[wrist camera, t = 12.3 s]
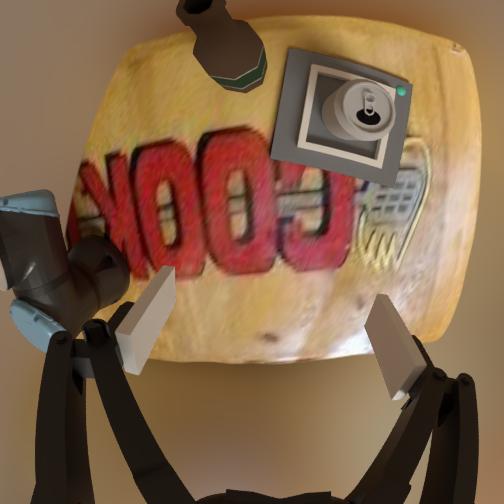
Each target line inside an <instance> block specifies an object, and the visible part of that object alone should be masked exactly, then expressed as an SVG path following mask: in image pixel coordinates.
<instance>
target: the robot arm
mask: <svg viewBox="0 0 504 504" xmlns="http://www.w3.org/2000/svg"><path fill="white" fill-rule="evenodd" d="M59 217H60V215H59V214H58V211H57V207H56V203H55V198H54V195H53V194H52V192H51V191H49V190H37V191H30V192H25V193H20V194H14V195H10V196H5V197H1V198H0V290H2V291H4V292H5V291H7V290H9V289H10V288H12V289H13V292H14V294H15V297H16V299H14V300H13V301H12V303H11V305H10V314H11V317H12V319H13V321H14V323H15V324H16V326H17V327H18V328H19V330H20V331H21V333H22V334H23V335H24V336H25V337H26V338H27V339H28V340H29V341H30V342H31V343H32V344H33V345H34V346H36V347H37V348H39V349H40V350H42V351H44V352H46V358H45V363H44V368H43V374H42V380H41V386H40V394H39V401H38V410H37V421H36V438H35V473H36V485H35V488H34V492H33V495H32V499H31V503H30V504H95V500H94V493H93V487H92V480H91V474H90V466H89V456H88V445H87V430H86V378H95V380H96V384H97V387H98V390H99V394H100V397H101V400H102V403H103V406H104V409H105V411H106V414H107V417H108V419H109V422H110V425H111V427H112V430H113V432H114V435H115V437H116V440H117V442H118V444H119V447H120V449H121V451H122V453H123V455H124V458H125V460H126V462H127V464H128V466H129V468H130V470H131V472H132V474H133V478H134V481H135V483H136V485H137V487H138V489H139V490H140V492H141V494H142V496H143V497H144V499H145V501H146V502H147V504H403V503H404V501H405V500H406V498H407V496H408V494H409V492H410V490H411V485H410V484H409V482H410V480H411V478H412V476H413V474H414V471H415V469H416V467H417V465H418V463H419V461H420V459H421V456H422V454H423V452H424V450H425V447H426V445H427V442H428V440H429V437H430V435H431V432H432V440H431V448H430V454H429V461H428V467H427V472H426V477H425V482H424V486H423V491H422V495H421V499H420V502H419V504H475V503H474V501H475V493H476V485H477V473H478V454H479V434H478V433H479V432H478V412H477V400H476V391H475V383H474V380H473V379H472V377H471V376H470V375H468V374H466V373H461V374H459V376H458V377H457V378H456V379H453V378H448V377H447V375H446V373H445V372H444V371H443V370H442V369H440V368H436V367H434V365H433V363H432V361H431V360H430V358H429V356H428V354H427V353H426V351H425V349H424V348H423V345H422V343H421V342H420V340H419V339H418V338H417V337H416V336H415V335H411V334H410V332H409V331H408V329H407V327H406V325H405V324H404V322H403V320H402V319H401V317H400V315H399V313H398V312H397V310H396V308H395V307H394V305H393V303H392V302H391V300H390V299H389V297H388V295H385V294H377V296H376V299H375V301H374V304H373V307H372V309H371V312H370V314H369V316H368V319H367V321H366V324H365V326H364V327H365V330H366V332H367V334H368V337H369V340H370V342H371V345H372V347H373V350H374V352H375V355H376V358H377V360H378V363H379V366H380V369H381V371H382V374H383V377H384V379H385V382H386V385H387V388H388V391H389V394H390V397H391V400H399V399H403V398H404V397H405V395H406V394H407V393H409V396H410V398H409V399H408V400H407V402H406V403H405V404H404V405H403V407H402V408H401V409H403V410H402V412H401V414H400V416H399V418H398V420H397V422H396V424H395V426H394V428H393V429H392V431H391V433H390V435H389V437H388V438H387V440H386V442H385V443H384V445H383V447H382V449H381V450H380V452H379V453H378V455H377V457H376V458H375V460H374V461H373V463H372V465H371V466H370V467H369V469H368V470H367V472H366V473H365V475H364V476H363V478H362V479H361V480H360V482H359V483H358V485H357V486H356V487H355V489H354V490H353V491H352V492H351V493H350V494H349V495H348V496H347V497H346V498H345V499H344V500H343V499H340V498H337V497H333V496H331V491H329V492H316V493H304V494H300V495H296V496H292V497H288V498H283V499H279V498H274V497H270V496H266V495H263V494H259V493H255V492H249V491H238V490H230V489H227V490H226V493H220V494H214V495H210V496H207V497H204V498H201V499H199V500H198V501H195V500H194V498H193V497H192V496H191V494H190V493H189V492H188V490H187V489H186V487H185V486H184V484H183V483H182V481H181V480H180V478H179V477H178V475H177V474H176V472H175V471H174V469H173V468H172V466H171V465H170V464H169V462H168V461H167V459H166V458H165V456H164V454H163V453H162V451H161V449H160V448H159V446H158V444H157V442H156V440H155V438H154V437H153V435H152V433H151V431H150V429H149V427H148V425H147V423H146V421H145V419H144V417H143V415H142V413H141V411H140V409H139V407H138V405H137V402H136V400H135V398H134V396H133V394H132V391H131V389H130V387H129V384H128V382H127V379H126V377H125V375H124V372H123V370H122V366H123V364H124V368H125V371H126V372H129V373H132V374H136V375H139V374H140V372H141V370H142V368H143V366H144V364H145V362H146V360H147V358H148V356H149V354H150V352H151V350H152V348H153V346H154V344H155V342H156V340H157V338H158V336H159V334H160V332H161V330H162V328H163V326H164V324H165V323H166V321H167V319H168V317H169V315H170V313H171V311H172V309H173V307H174V305H175V303H176V299H175V267H171V266H165V265H163V267H162V268H161V269H160V270H159V272H158V273H157V274H156V276H155V277H154V278H153V280H152V281H151V282H150V284H149V285H148V286H147V288H146V289H145V290H144V292H143V293H142V294H141V296H140V297H139V299H138V300H137V301H136V303H133V302H129V301H127V302H125V303H124V304H122V305H120V307H119V308H118V309H117V310H116V312H115V313H114V314H113V316H112V317H111V318H110V320H109V321H108V322H107V323H106V321H104V320H102V319H98V318H97V319H92V318H93V317H94V315H95V314H96V313H97V312H98V311H99V310H101V309H103V308H105V307H107V306H109V305H111V304H114V303H116V302H118V301H119V300H120V299H121V298H122V297H123V296H124V294H125V293H126V292H127V290H128V287H129V283H130V276H129V270H128V267H127V264H126V262H125V260H124V258H123V256H122V254H121V253H120V252H119V250H118V249H117V248H116V247H115V246H114V245H113V244H112V243H111V242H109V241H108V240H106V239H104V238H102V237H100V236H95V235H90V236H86V237H84V238H82V239H81V240H79V241H78V242H76V243H75V244H74V245H73V247H72V248H71V250H70V253H69V254H67V250H66V246H65V242H64V238H63V234H62V229H61V224H60V219H59ZM81 331H82V333H83V336H84V339H75V338H76V337H77V336H78V335H79V333H80V332H81ZM432 429H433V431H432Z"/></svg>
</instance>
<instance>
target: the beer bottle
mask: <svg viewBox="0 0 504 504" xmlns="http://www.w3.org/2000/svg"><path fill="white" fill-rule="evenodd" d="M225 5H226V1H225V0H180V1H179V3H178V6H177V8H176V14H177V16H178V17H179V18H180V20H181V21H182V22H183V23H184V24H185V25H186V26H190V27H191V28H192V30H193V31H194V32H195V34H196V35H197V39H196V42H195V45H194V49H193V55H194V56H195V57H196V59H197V60H198V61H199V63H200V64H201V65H202V67H203V68H204V70H205V71H206V72H207V74H208V75H209V76H210V77H211V78H212V79H214V80H215V81H216V82H217V83H219V84H220V85H221V86H222V87H223V88H225V89H226V90H231V91H236V92H242V93H247V92H249V91H251V90H252V89H254V88H256V87H258V86H260V85H261V84H263V81H264V77H265V73H266V70H267V60H266V55H265V49H264V45H263V42H262V40H261V39H260V38H259V36H258V35H257V34H256V33H255V31H254V30H253V29H252V28H251V26H250V25H249V24H248V23H247V22H245V21H242V20H234V19H232V18H231V16H230V15H229V13H228V12H227V10H226V9H225Z"/></svg>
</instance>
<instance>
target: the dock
mask: <svg viewBox="0 0 504 504" xmlns="http://www.w3.org/2000/svg"><path fill="white" fill-rule="evenodd" d="M354 79H368V80H370V81H373V82H376V83H377V84H379V85H380V86H381V87H383V88H384V89H385V90H386V91H387V92H388V94H389V95H390V96H391V98H392V100H393V102H394V105H395V112H396V116H395V121H394V125H393V127H392V129H391V130H390V132H389V133H388V134H387V135H385V136H384V137H383V138H381V139H378V140H375V141H360V140H345V139H341V138H338V137H336V136H335V135H333V134H332V133H331V132H330V131H329V130H328V129H327V128H326V126H325V124H324V122H323V120H322V107H323V104H324V102H325V100H326V99H327V98H328V97H329V96H330V95H331V94H333V93H334V92H335V91H336V90H337V89H339V88H340V87H341V86H342V85H344V84H345V83H346V82H348V81H351V80H354ZM412 88H413V85H412V84H410V83H408V82H405V81H403V80H401V79H398V78H396V77H393V76H390V75H388V74H385V73H383V72H380V71H377V70H374V69H371V68H368V67H365V66H362V65H359V64H356V63H352V62H349V61H346V60H342V59H338V58H334V57H331V56H327V55H322V54H318V53H314V52H309V51H304V50H299V49H293V48H290V49H289V54H288V60H287V66H286V72H285V77H284V83H283V89H282V94H281V100H280V106H279V111H278V117H277V123H276V128H275V134H274V140H273V145H272V151H271V157H270V159H276V160H281V161H286V162H291V163H296V164H301V165H306V166H310V167H315V168H319V169H324V170H328V171H332V172H336V173H340V174H344V175H348V176H352V177H356V178H359V179H363V180H367V181H370V182H374V183H377V184H380V185H384V186H387V187H390V188H394V185H395V181H396V177H397V173H398V169H399V164H400V160H401V155H402V150H403V145H404V140H405V135H406V129H407V123H408V117H409V111H410V104H411V96H412Z"/></svg>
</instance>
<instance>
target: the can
mask: <svg viewBox="0 0 504 504" xmlns="http://www.w3.org/2000/svg"><path fill="white" fill-rule="evenodd" d="M395 116H396V112H395V105H394V102H393V100H392V98H391V96H390V95H389V94H388V92H387V91H386V90H385V89H384V88H383V87H381V86H380V85H379V84H377V83H376V82H373V81H370V80H368V79H354V80H351V81H348V82H346V83H345V84H344V85H342V86H341V87H340V88H339V89H337V90H336V91H335V92H334V93H333V94H331V95H330V96H329V97H328V98H327V99H326V100H325V102H324V104H323V107H322V120H323V122H324V124H325V126H326V128H327V129H328V130H329V131H330V132H331V133H332V134H333V135H335V136H336V137H338V138H341V139H345V140H360V141H375V140H378V139H381V138H383V137H384V136H385V135H387V134H388V133H389V132H390V130H391V129H392V127H393V125H394V121H395Z"/></svg>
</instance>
